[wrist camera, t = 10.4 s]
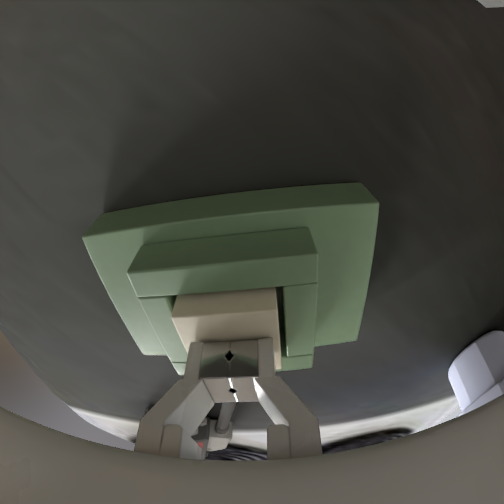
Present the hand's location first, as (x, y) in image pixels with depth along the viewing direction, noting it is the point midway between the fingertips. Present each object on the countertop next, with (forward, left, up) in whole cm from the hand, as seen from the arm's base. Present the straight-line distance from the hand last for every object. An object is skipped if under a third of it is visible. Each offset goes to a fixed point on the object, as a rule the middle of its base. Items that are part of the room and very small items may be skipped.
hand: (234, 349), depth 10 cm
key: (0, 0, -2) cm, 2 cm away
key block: (0, 0, -5) cm, 5 cm away
